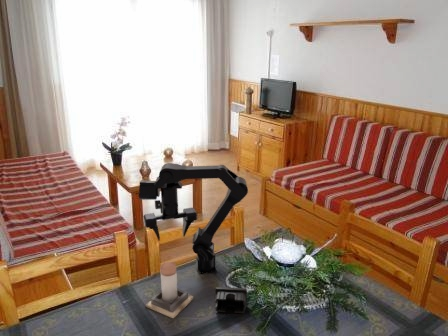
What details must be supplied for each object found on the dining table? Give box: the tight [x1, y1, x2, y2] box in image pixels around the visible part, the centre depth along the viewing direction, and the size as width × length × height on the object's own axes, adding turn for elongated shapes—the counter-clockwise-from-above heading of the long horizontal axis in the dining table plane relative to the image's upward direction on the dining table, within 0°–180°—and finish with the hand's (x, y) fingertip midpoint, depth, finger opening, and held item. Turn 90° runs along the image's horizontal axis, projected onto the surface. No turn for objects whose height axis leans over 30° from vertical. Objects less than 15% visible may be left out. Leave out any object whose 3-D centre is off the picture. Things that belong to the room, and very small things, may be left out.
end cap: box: [214, 286, 248, 317], centre depth 121 cm, size 10×7×7 cm
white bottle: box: [159, 261, 178, 305], centre depth 122 cm, size 5×5×13 cm
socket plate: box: [145, 287, 194, 319], centre depth 124 cm, size 11×11×3 cm
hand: (171, 238), depth 139 cm, fingers open, 9 cm apart
